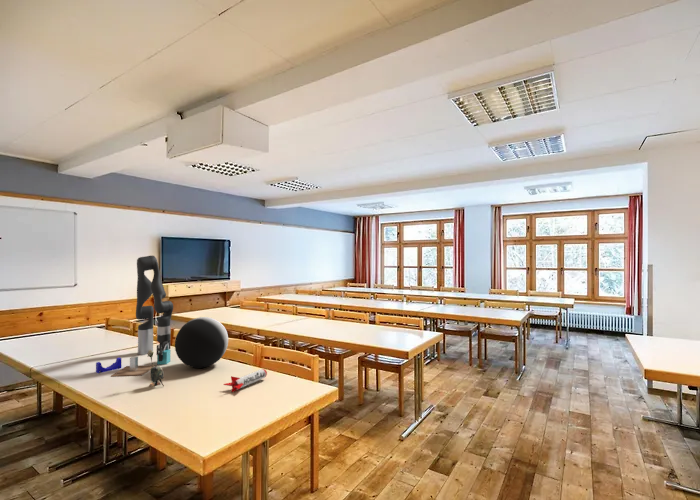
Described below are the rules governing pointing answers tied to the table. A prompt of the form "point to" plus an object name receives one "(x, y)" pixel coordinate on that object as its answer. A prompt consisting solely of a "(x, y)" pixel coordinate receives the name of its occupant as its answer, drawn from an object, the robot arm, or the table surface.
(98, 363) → the cable clip
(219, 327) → the black ball
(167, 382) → the table surface
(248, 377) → the model rocket
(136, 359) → the steel post
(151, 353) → the plant with pod
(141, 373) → the walnut board
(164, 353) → the aqua box
